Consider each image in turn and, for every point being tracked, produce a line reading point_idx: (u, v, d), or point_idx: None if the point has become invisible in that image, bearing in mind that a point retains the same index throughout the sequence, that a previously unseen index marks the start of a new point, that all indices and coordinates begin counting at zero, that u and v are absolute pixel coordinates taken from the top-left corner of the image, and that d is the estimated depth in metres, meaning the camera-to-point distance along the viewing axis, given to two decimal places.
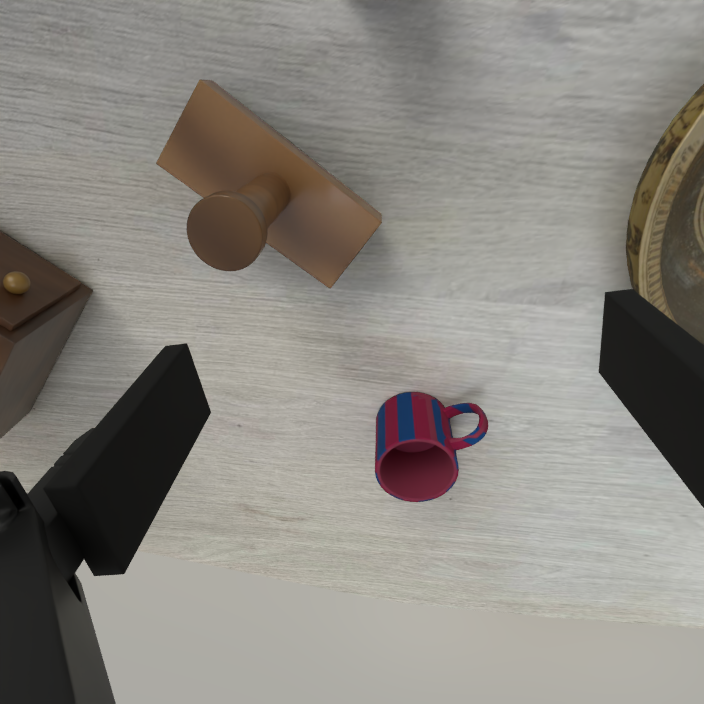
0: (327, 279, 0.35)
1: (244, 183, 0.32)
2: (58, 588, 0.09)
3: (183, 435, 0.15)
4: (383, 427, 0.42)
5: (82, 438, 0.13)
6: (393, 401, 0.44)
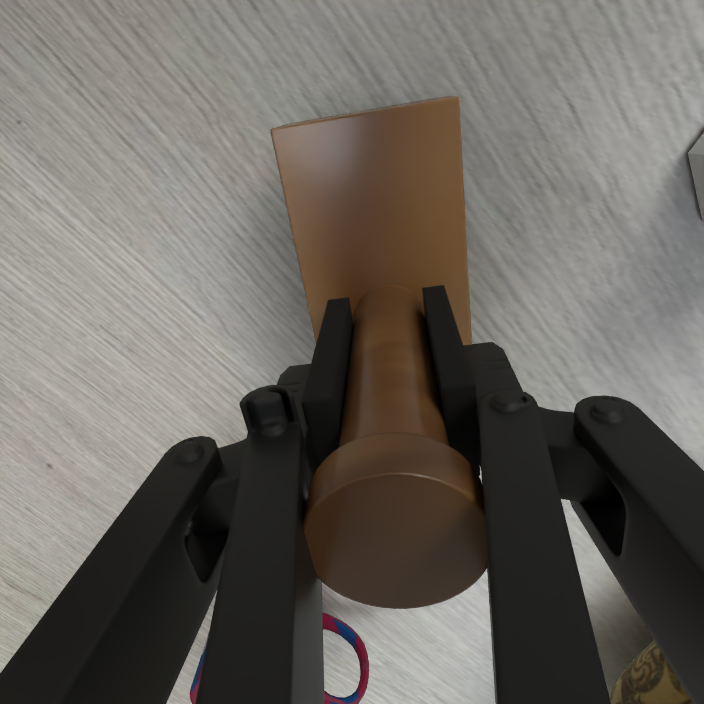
0: None
1: (369, 275, 0.18)
2: (302, 507, 0.09)
3: None
4: None
5: (286, 373, 0.14)
6: None
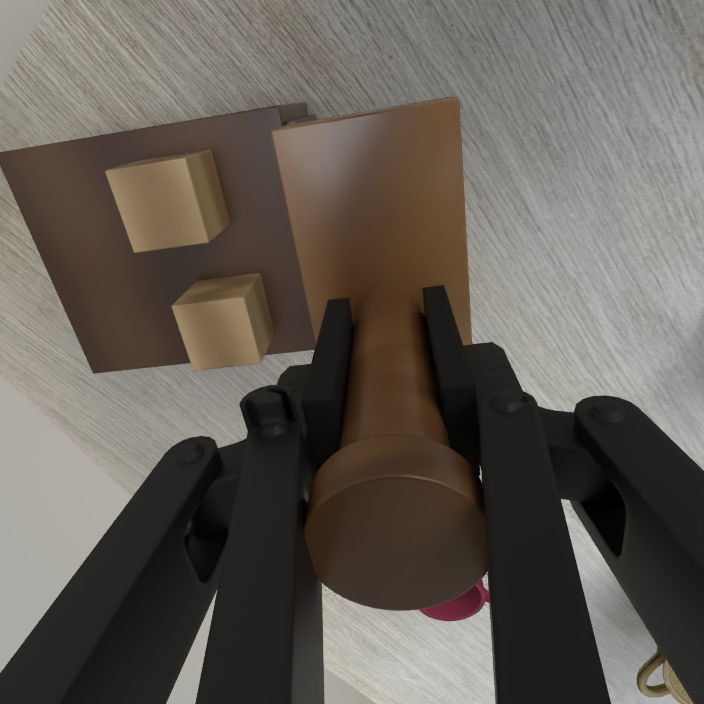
0: None
1: (369, 276, 0.18)
2: (302, 507, 0.09)
3: None
4: None
5: (286, 373, 0.14)
6: None
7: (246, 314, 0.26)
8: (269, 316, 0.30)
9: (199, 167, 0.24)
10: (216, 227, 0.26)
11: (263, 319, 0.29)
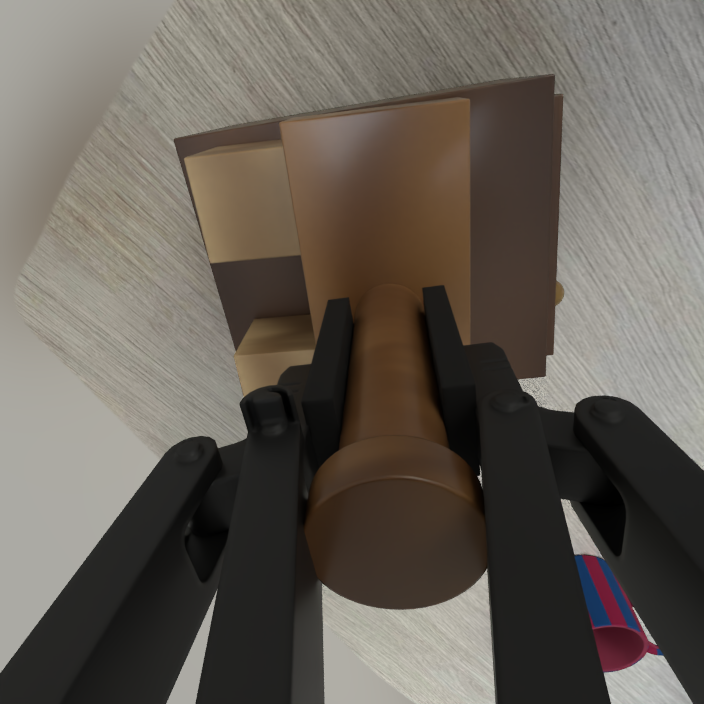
0: None
1: (371, 273, 0.18)
2: (302, 507, 0.09)
3: None
4: (593, 589, 0.42)
5: (286, 373, 0.14)
6: (595, 563, 0.45)
7: None
8: None
9: None
10: None
11: None
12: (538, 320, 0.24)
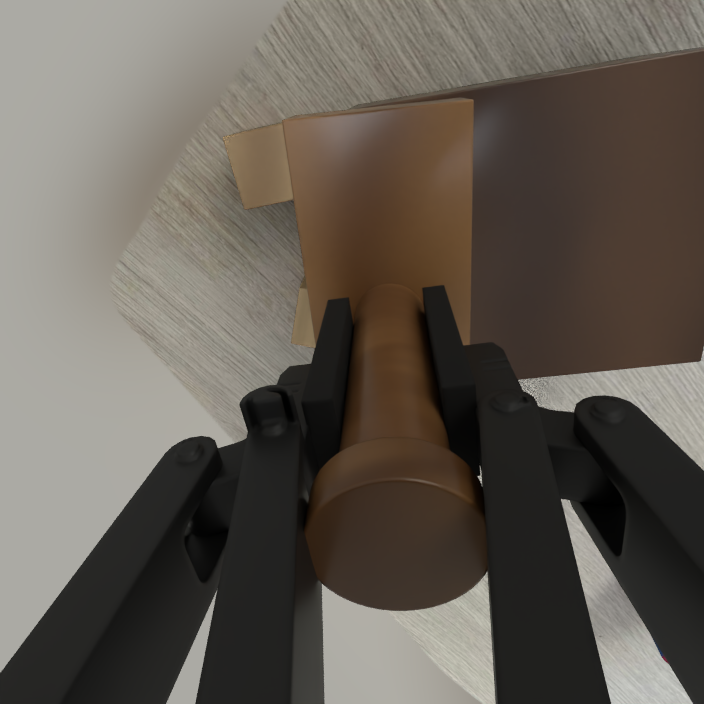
0: None
1: (372, 273, 0.18)
2: (302, 507, 0.09)
3: None
4: None
5: (286, 373, 0.14)
6: None
7: (297, 301, 0.31)
8: None
9: None
10: None
11: None
12: (703, 302, 0.23)
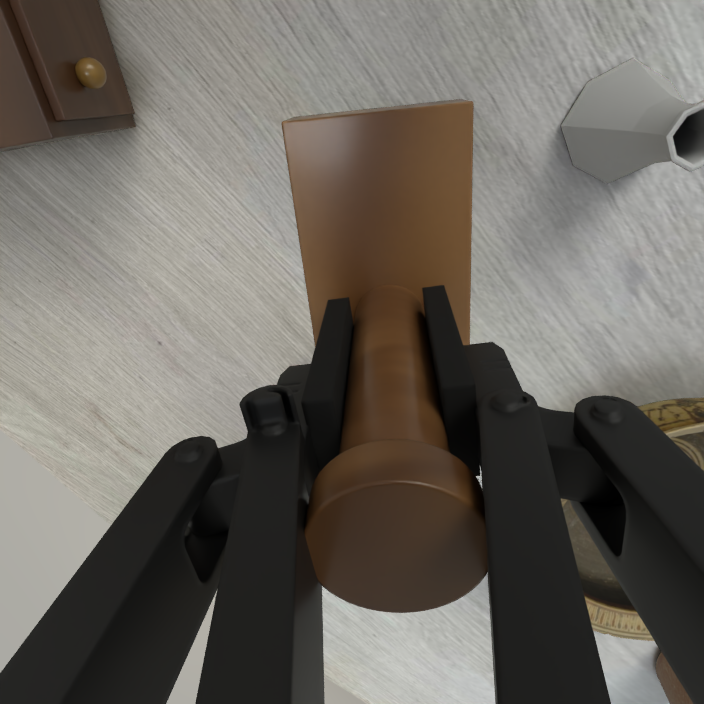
0: None
1: (372, 274, 0.18)
2: (302, 507, 0.09)
3: None
4: None
5: (286, 373, 0.14)
6: None
7: None
8: None
9: None
10: None
11: None
12: (16, 69, 0.25)
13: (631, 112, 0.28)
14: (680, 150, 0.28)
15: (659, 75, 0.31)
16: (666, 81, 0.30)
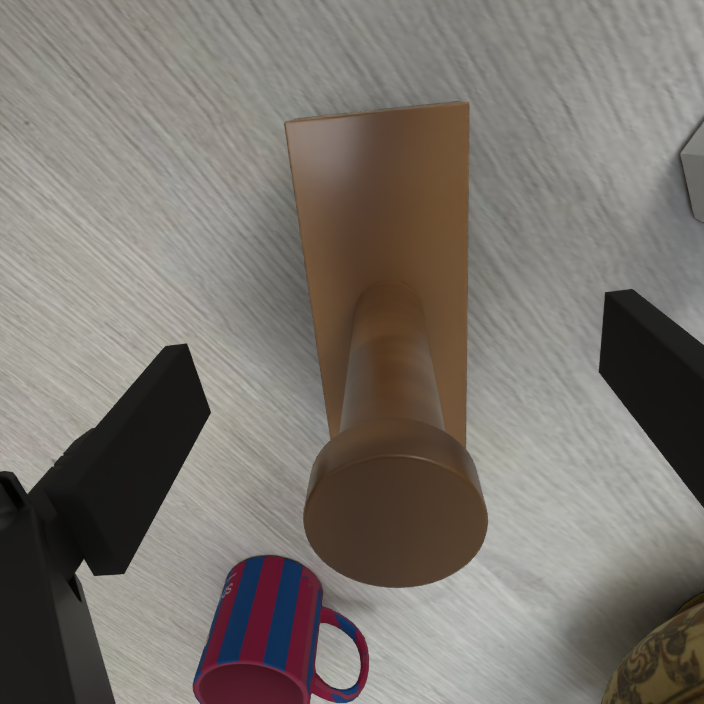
0: None
1: (371, 270, 0.18)
2: (58, 588, 0.09)
3: (183, 435, 0.15)
4: (248, 606, 0.29)
5: (82, 438, 0.13)
6: (277, 567, 0.32)
7: None
8: None
9: None
10: None
11: None
12: None
13: None
14: None
15: None
16: None
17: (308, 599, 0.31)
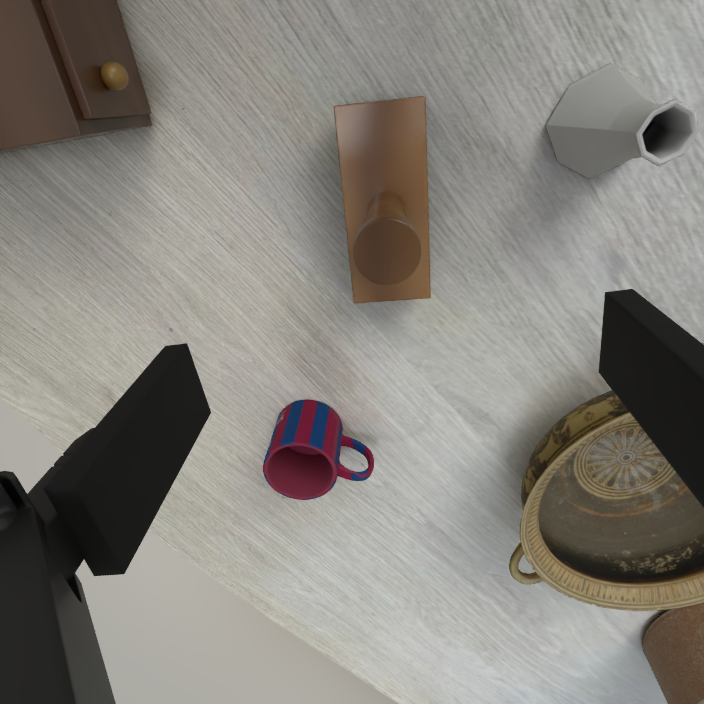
0: (359, 296, 0.39)
1: (377, 186, 0.35)
2: (58, 588, 0.09)
3: (183, 435, 0.15)
4: (296, 421, 0.46)
5: (82, 438, 0.13)
6: (313, 404, 0.48)
7: None
8: None
9: None
10: None
11: None
12: (50, 72, 0.27)
13: (608, 112, 0.31)
14: (652, 147, 0.31)
15: (635, 78, 0.34)
16: (641, 84, 0.33)
17: (334, 424, 0.47)
